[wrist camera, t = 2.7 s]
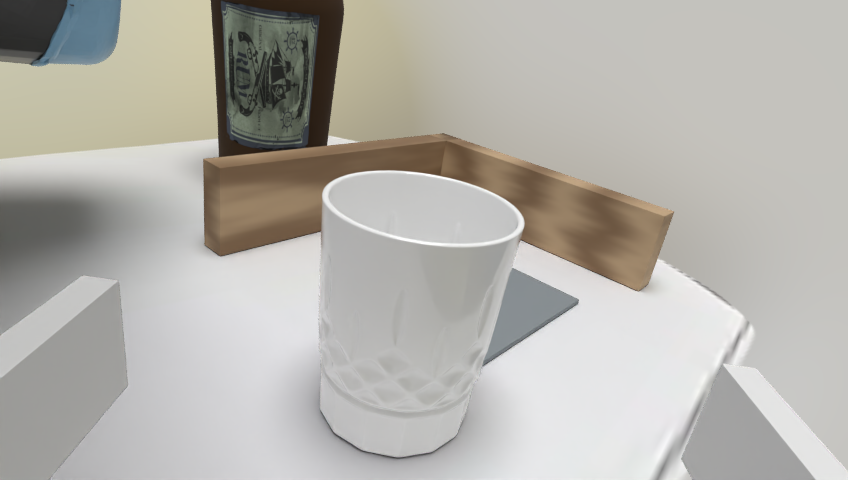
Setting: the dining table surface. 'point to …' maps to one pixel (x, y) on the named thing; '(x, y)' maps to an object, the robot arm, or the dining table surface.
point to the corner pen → (443, 156)
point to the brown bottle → (274, 72)
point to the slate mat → (525, 311)
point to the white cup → (408, 304)
